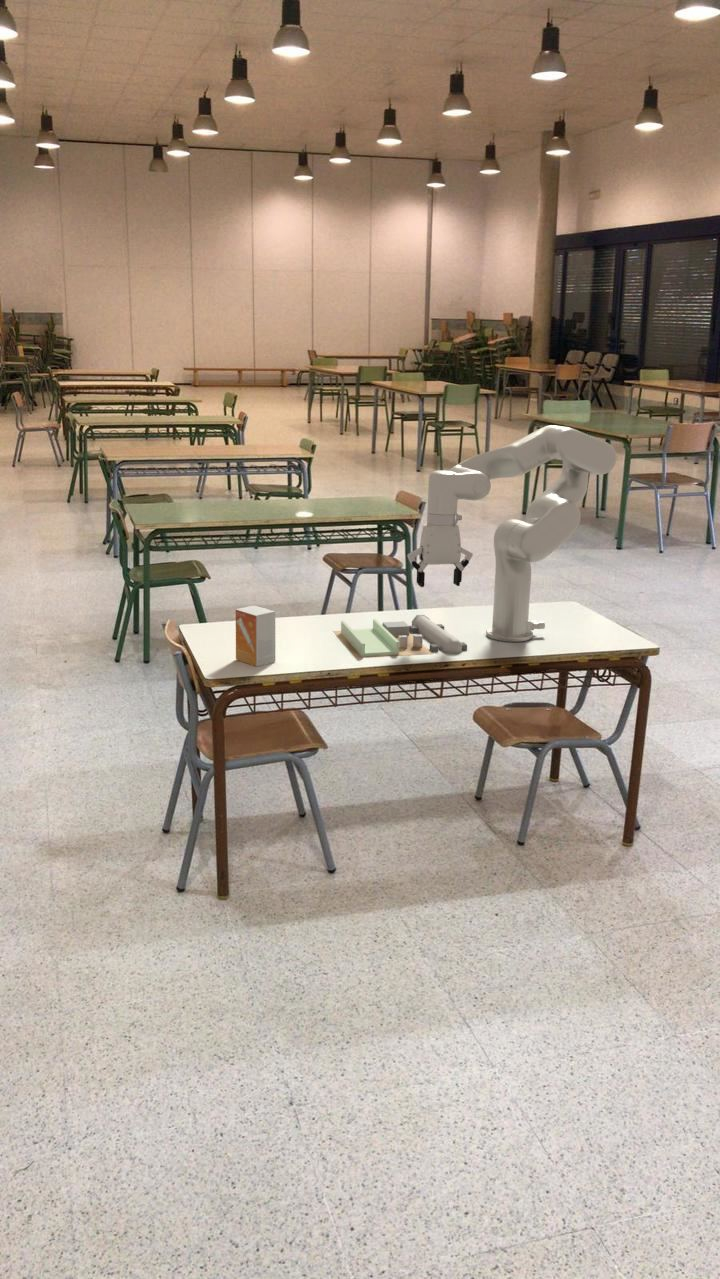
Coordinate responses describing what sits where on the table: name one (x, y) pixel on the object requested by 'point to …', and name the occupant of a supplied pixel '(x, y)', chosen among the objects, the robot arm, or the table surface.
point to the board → (402, 652)
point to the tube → (436, 634)
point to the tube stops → (433, 646)
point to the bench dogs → (416, 641)
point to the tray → (371, 640)
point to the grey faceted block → (397, 628)
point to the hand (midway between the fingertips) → (438, 585)
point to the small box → (255, 635)
